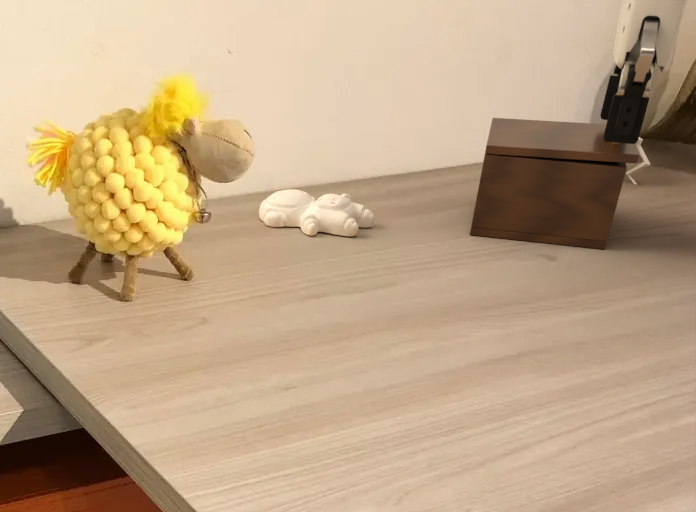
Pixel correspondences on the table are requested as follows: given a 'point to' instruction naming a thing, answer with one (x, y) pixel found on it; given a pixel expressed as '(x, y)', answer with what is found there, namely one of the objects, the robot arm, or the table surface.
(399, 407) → the table surface
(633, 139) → the robot arm
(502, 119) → the lid
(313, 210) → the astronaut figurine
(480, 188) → the chest
